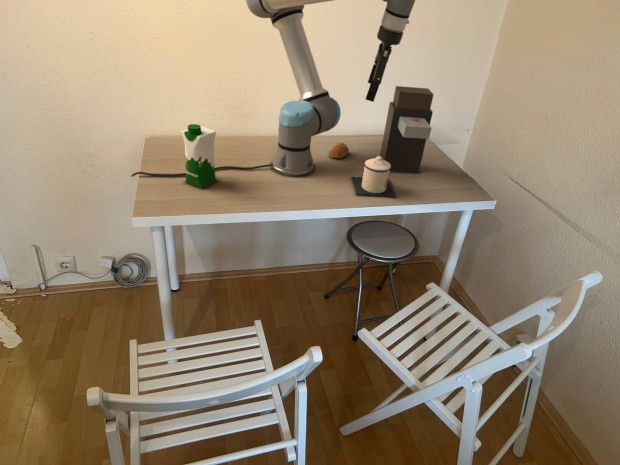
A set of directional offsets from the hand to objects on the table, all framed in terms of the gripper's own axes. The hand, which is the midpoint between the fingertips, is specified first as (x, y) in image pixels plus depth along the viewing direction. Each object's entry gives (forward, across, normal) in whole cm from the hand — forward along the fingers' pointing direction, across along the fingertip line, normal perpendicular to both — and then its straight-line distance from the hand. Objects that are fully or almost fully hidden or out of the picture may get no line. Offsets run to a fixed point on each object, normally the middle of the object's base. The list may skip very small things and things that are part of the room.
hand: (370, 91), depth 159 cm
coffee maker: (+28, +2, -21) cm, 35 cm away
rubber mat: (+28, -14, -11) cm, 32 cm away
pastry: (+33, +11, +3) cm, 35 cm away
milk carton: (+35, -27, +46) cm, 64 cm away
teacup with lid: (+27, -14, -10) cm, 32 cm away
